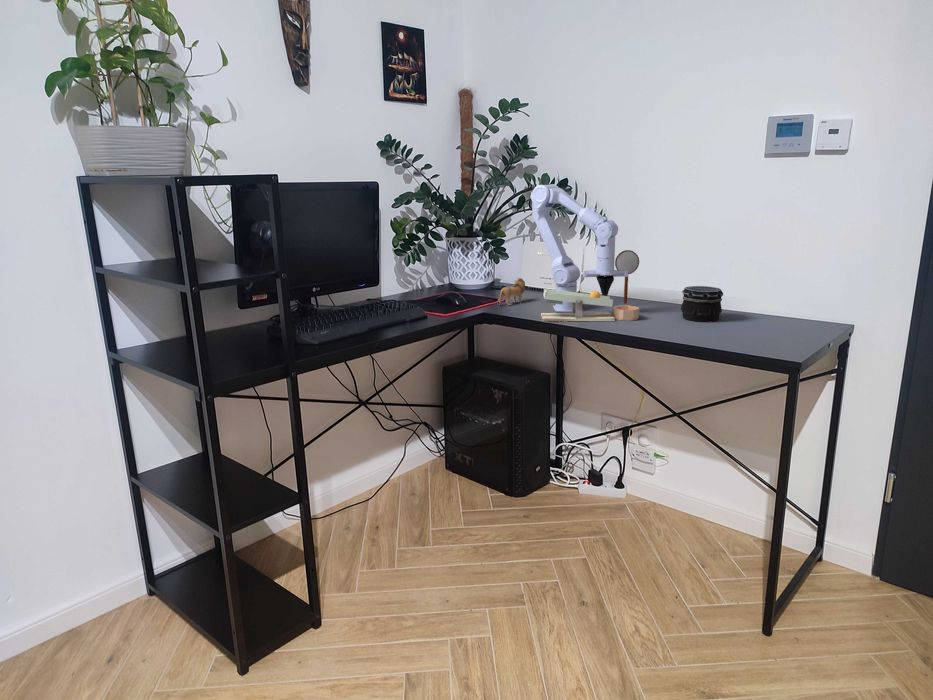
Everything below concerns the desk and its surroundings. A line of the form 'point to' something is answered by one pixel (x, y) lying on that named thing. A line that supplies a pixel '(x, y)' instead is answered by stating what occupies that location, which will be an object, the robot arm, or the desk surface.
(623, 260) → the magnifying glass
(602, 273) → the robot arm
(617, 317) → the octagonal wooden bowl
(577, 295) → the trough
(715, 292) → the container
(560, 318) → the stand
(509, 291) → the lion figurine
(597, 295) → the ball
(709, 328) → the desk surface
